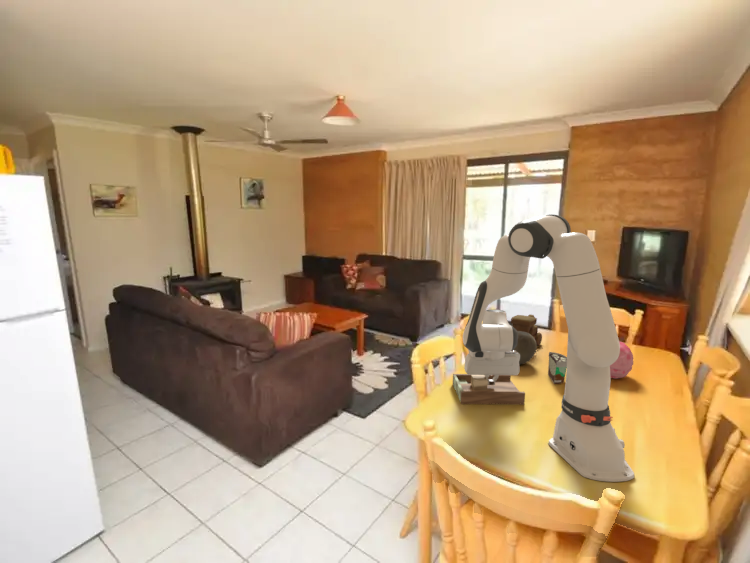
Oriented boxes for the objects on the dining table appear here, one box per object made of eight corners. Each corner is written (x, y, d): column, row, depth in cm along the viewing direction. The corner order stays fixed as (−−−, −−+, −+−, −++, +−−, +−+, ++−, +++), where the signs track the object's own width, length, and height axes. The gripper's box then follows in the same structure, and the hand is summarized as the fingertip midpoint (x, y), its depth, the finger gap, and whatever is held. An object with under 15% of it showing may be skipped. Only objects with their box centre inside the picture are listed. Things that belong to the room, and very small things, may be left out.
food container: (571, 387, 146) (573, 363, 144) (555, 385, 147) (557, 362, 145) (562, 374, 158) (564, 352, 156) (547, 373, 159) (549, 351, 157)
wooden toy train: (529, 353, 182) (531, 321, 179) (507, 348, 189) (509, 317, 186) (543, 343, 196) (545, 314, 193) (522, 339, 204) (524, 310, 201)
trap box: (524, 404, 132) (525, 392, 131) (461, 403, 132) (461, 392, 132) (509, 384, 148) (509, 374, 147) (452, 384, 148) (453, 373, 147)
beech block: (487, 390, 137) (487, 380, 137) (473, 390, 138) (474, 380, 137) (483, 384, 142) (484, 374, 142) (470, 384, 142) (471, 374, 142)
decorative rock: (595, 351, 169) (594, 330, 161) (632, 354, 161) (633, 332, 153) (593, 385, 158) (591, 364, 150) (633, 390, 150) (634, 368, 142)
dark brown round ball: (532, 371, 161) (535, 339, 158) (499, 364, 168) (501, 333, 165) (537, 360, 172) (539, 330, 170) (506, 355, 180) (508, 326, 177)
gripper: (517, 347, 140) (515, 381, 142) (464, 347, 141) (462, 380, 143) (523, 354, 134) (520, 388, 136) (467, 353, 134) (466, 387, 137)
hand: (490, 384), depth 140 cm, fingers closed
